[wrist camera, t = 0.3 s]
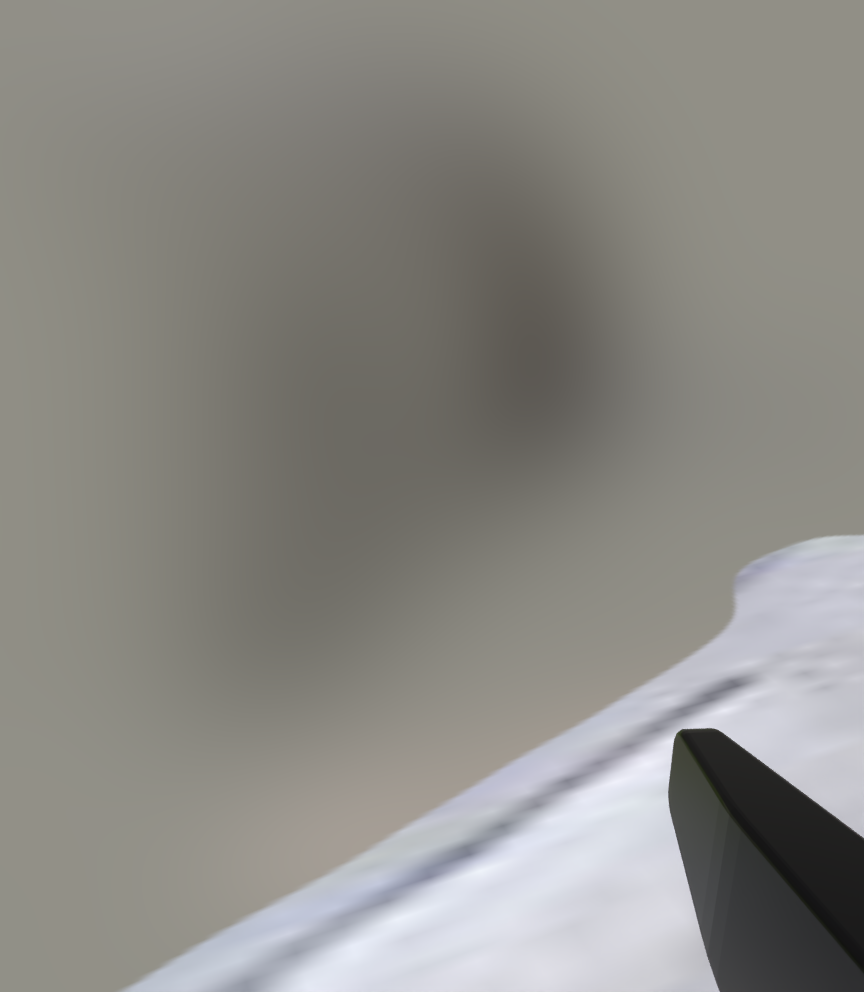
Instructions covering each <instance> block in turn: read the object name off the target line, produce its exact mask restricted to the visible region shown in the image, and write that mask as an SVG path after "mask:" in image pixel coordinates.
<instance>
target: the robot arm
mask: <svg viewBox="0 0 864 992" xmlns="http://www.w3.org/2000/svg"><path fill="white" fill-rule="evenodd" d="M668 798H669V807H670V813H671V817H672V821H673V825H674V829H675V833H676V837H677V841H678V845H679V849H680V853H681V857H682V861H683V864H684V868H685V872H686V876H687V880H688V884H689V888H690V892H691V896H692V900H693V904H694V908H695V912H696V916H697V920H698V924H699V927H700V931H701V935H702V939H703V942H704V946H705V950H706V953H707V957H708V960H709V963H710V966H711V969H712V971H713V974H714V977H715V980H716V983H717V986H718V989H719V991H720V992H864V838H863V837H862V836H860V835H859V834H858V833H856V832H855V831H854V830H852V829H851V828H850V827H848V826H847V825H846V824H844V823H843V822H841V821H840V820H839V819H837V818H836V817H835V816H833V815H832V814H831V813H829V812H828V811H827V810H825V809H824V808H823V807H821V806H820V805H819V804H817V803H816V802H815V801H813V800H812V799H811V798H809V797H808V796H807V795H805V794H804V793H803V792H801V791H800V790H799V789H797V788H796V787H795V786H793V785H792V784H791V783H789V782H788V781H787V780H785V779H784V778H783V777H781V776H780V775H779V774H777V773H776V772H774V771H773V770H772V769H770V768H769V767H768V766H766V765H765V764H764V763H762V762H761V761H760V760H758V759H757V758H756V757H754V756H753V755H752V754H750V753H749V752H748V751H746V750H745V749H744V748H742V747H741V746H740V745H738V744H737V743H736V742H734V741H733V740H732V739H730V738H729V737H728V736H726V735H725V734H724V733H722V732H720V731H719V730H716V729H712V728H706V729H682V730H681V731H679V732H678V733H677V734H676V737H675V739H674V745H673V754H672V763H671V771H670V780H669V790H668Z"/></svg>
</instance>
